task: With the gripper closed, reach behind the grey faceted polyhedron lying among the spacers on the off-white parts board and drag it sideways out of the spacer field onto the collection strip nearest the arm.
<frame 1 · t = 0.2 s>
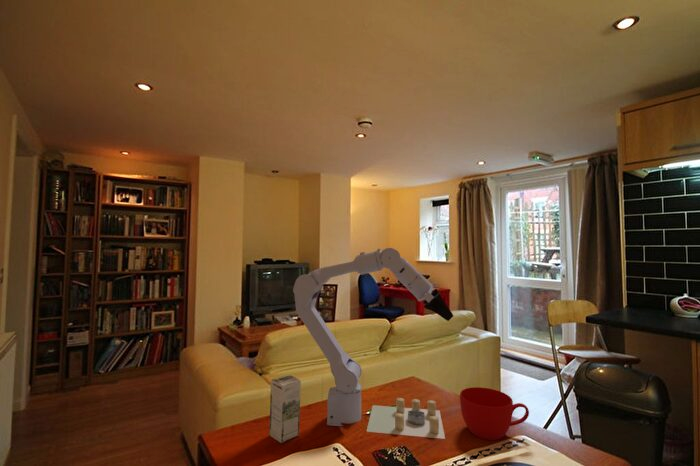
hand: (449, 315, 95), 30 cm above the table, tool tilted 45°, fingers open, 7 cm apart
ceramic cup: (494, 437, 90), on the table
grey faceted polyhedron: (416, 421, 96), point 1 cm above the table, touching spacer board
syrup box: (284, 436, 90), on the table
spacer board: (405, 424, 96), on the table
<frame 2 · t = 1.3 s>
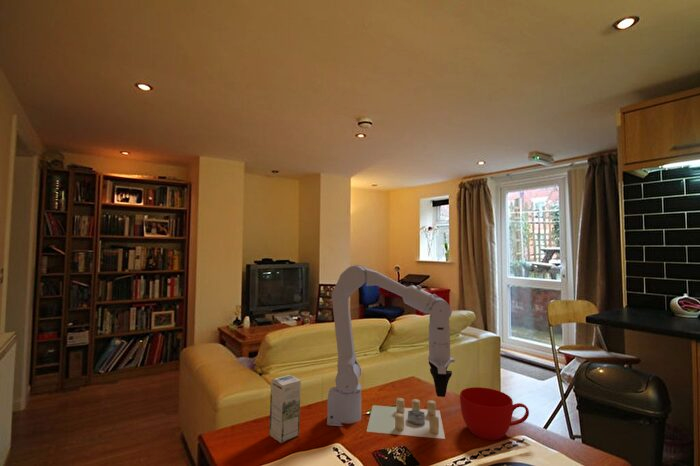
hand: (439, 391, 95), 9 cm above the table, tool pointing down, fingers open, 5 cm apart
nothing on the table moved.
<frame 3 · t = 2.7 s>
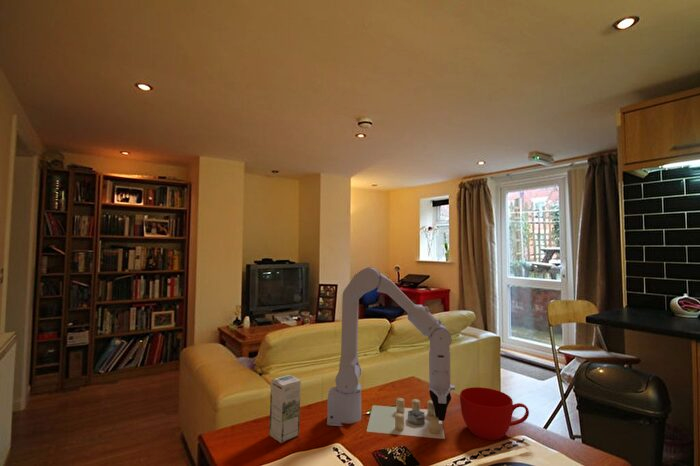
hand: (440, 419, 95), 2 cm above the table, tool pointing down, fingers closed
nothing on the table moved.
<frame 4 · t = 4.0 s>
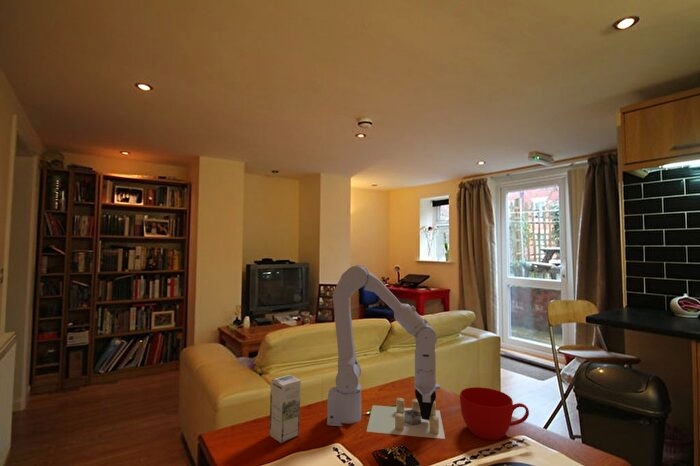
hand: (425, 418, 95), 2 cm above the table, tool pointing down, fingers closed
grey faceted polyhedron: (412, 420, 96), point 1 cm above the table
everything else where it was.
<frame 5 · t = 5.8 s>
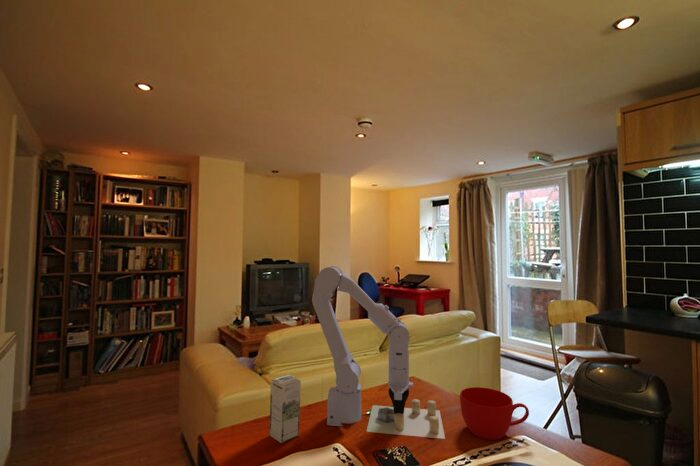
hand: (399, 416, 97), 2 cm above the table, tool pointing down, fingers closed, pressing on grey faceted polyhedron
grey faceted polyhedron: (386, 418, 97), point 1 cm above the table, touching gripper, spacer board
everything else where it was.
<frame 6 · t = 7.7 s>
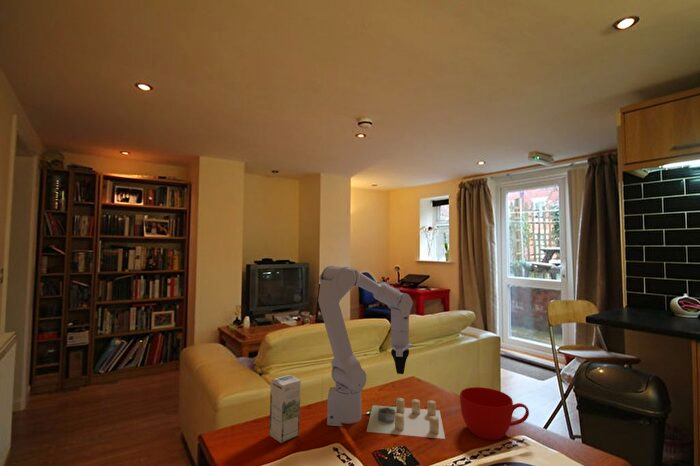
hand: (400, 373, 110), 9 cm above the table, tool pointing down, fingers closed
grey faceted polyhedron: (386, 418, 97), point 1 cm above the table, touching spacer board
everything else where it was.
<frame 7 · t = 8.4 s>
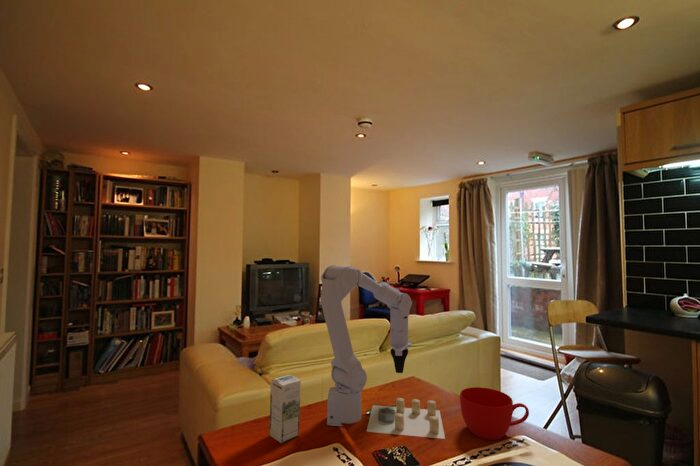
hand: (399, 372, 111), 9 cm above the table, tool pointing down, fingers closed
nothing on the table moved.
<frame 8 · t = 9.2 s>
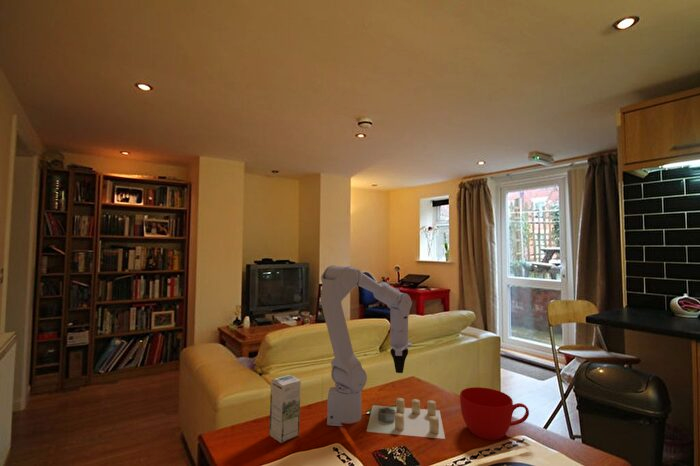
hand: (399, 372, 111), 9 cm above the table, tool pointing down, fingers closed
nothing on the table moved.
at the end: grey faceted polyhedron inside the target area (1.4 cm from its centre), point 1.0 cm above the table; grey faceted polyhedron tilted 0° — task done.
